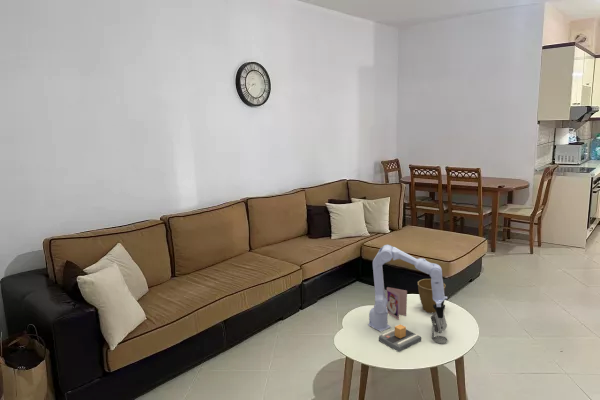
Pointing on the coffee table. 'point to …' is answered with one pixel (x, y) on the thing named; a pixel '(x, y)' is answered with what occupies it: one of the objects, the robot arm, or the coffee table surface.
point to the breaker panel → (399, 340)
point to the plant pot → (426, 295)
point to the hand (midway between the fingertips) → (440, 314)
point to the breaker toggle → (400, 331)
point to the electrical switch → (439, 322)
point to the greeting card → (396, 302)
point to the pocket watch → (438, 337)
